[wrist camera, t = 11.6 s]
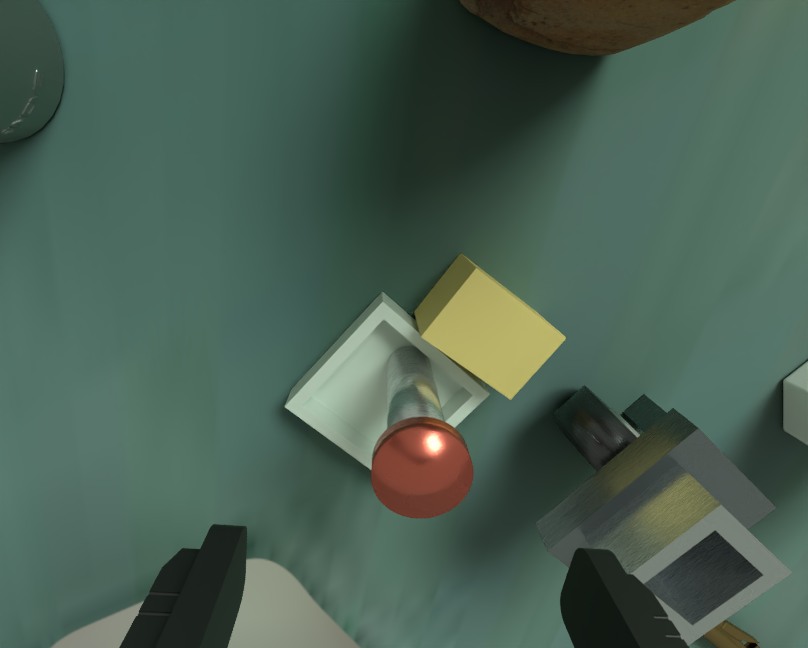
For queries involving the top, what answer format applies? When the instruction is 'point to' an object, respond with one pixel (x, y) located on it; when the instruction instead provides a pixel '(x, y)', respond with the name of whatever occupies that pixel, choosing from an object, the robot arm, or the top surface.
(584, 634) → the robot arm
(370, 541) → the top surface
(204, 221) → the top surface
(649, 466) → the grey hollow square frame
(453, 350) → the block
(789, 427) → the jar
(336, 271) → the top surface
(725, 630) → the brown wooden spoon
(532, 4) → the block
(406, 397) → the pin
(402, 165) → the top surface
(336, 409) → the tray
